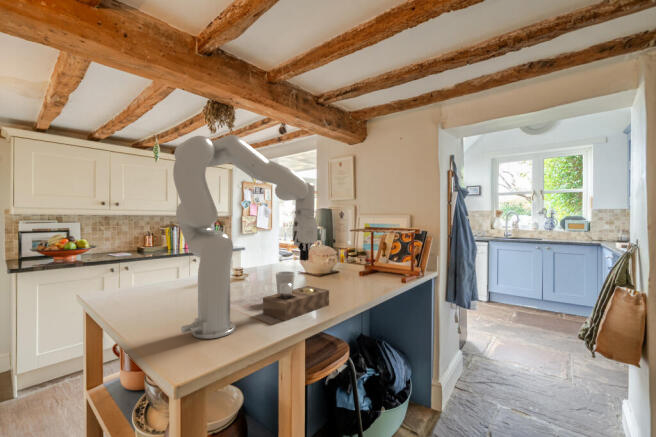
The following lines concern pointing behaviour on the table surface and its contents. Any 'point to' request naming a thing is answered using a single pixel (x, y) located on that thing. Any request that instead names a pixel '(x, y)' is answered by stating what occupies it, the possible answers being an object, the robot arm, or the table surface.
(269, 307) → the walnut block
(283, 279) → the cup
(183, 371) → the table surface
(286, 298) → the steel peg
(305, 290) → the brass peg
